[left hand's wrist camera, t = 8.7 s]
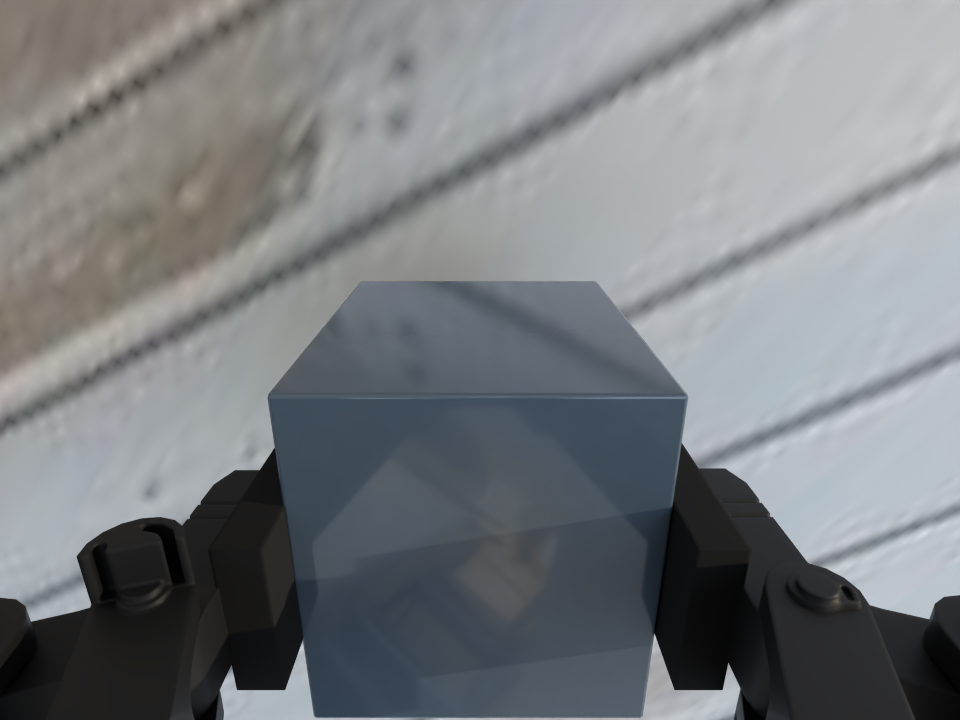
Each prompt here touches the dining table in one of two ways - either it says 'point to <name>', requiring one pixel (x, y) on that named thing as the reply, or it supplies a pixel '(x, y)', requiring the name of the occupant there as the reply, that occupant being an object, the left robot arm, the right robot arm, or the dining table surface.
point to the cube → (478, 501)
